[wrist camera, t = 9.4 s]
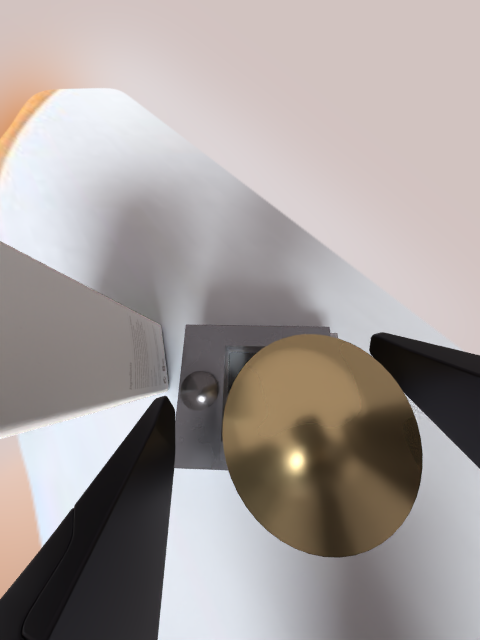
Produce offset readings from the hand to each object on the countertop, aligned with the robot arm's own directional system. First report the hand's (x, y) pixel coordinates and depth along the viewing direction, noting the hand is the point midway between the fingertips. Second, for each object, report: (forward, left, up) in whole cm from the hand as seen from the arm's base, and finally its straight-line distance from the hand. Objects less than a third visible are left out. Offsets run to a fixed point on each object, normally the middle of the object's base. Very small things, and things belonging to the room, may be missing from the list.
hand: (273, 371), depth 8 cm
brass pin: (-1, 0, -9) cm, 9 cm away
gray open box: (-1, 0, -9) cm, 9 cm away
